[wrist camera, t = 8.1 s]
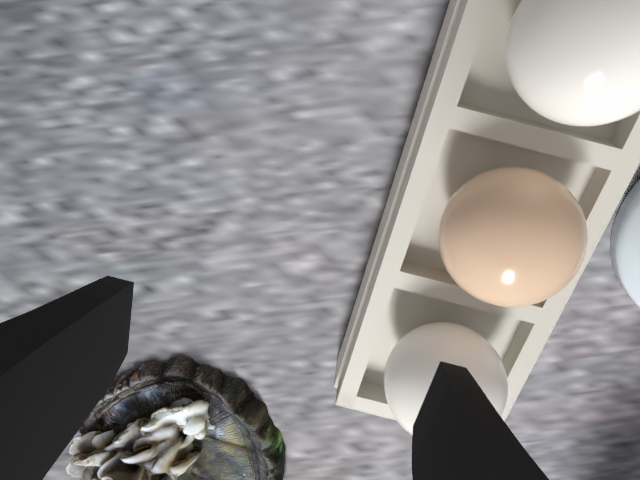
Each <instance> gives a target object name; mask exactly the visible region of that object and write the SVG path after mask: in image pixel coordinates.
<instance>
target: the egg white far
mask: <svg viewBox="0 0 640 480" xmlns="http://www.w3.org/2000/svg"><path fill="white" fill-rule="evenodd" d="M440 361H442V362H446V363H450V364H454V365H458V366H462V367H466V368H467V369H468V371H469V372H470V373H471V375H472V376H473V377H474V379H475V380H476V382H477V383H478V385H479V386H480V388H481V389H482V390H483V392H484V393H485V395H486V396H487V398H488V399H489V401H490V402H491V403H492V405H493V406H494V408H495V409H496V411H497V412H498V414H499V415H500V416H502V414H503V411H504V409H505V406H506V402H507V397H508V380H507V375H506V371H505V367H504V365H503V362H502V360H501V358H500V356H499V354H498V353H497V351H496V350H495V349H494V347H493V346H492V345H491V344H490V343H489V342H488V341H487V340H486V339H485V338H484V337H483V336H482V335H480V334H479V333H477V332H476V331H474V330H472V329H470V328H468V327H466V326H464V325H460V324H457V323H452V322H433V323H428V324H424V325H421V326H418V327H416V328H414V329H412V330H411V331H409V332H408V333H406V334H405V335H404V336H403V337H402V338H401V339H400V340H399V341H398V342H397V343H396V344H395V346H394V347H393V349H392V351H391V352H390V354H389V356H388V359H387V362H386V365H385V369H384V379H383V382H384V392H385V397H386V400H387V403H388V406H389V408H390V410H391V412H392V414H393V415H394V417H395V419H396V420H397V421H398V422H399V424H400V425H401V426H402V427H403V428H404V429H405V430H406V431H407V432H409V433H410V434H411V435H413V425H414V422H415V420H416V418H417V415H418V413H419V410H420V408H421V406H422V403H423V401H424V399H425V396H426V394H427V392H428V389H429V387H430V384H431V382H432V380H433V377H434V375H435V373H436V370H437V368H438V366H439V363H440Z"/></svg>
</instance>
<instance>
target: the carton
mask: <svg viewBox="0 0 640 480" xmlns="http://www.w3.org/2000/svg"><path fill="white" fill-rule="evenodd" d="M521 1H522V0H450V2H449V5H448V8H447V11H446V15H445V18H444V21H443V24H442V27H441V31H440V34H439V37H438V40H437V43H436V46H435V50H434V53H433V56H432V59H431V62H430V66H429V69H428V72H427V75H426V78H425V82H424V85H423V88H422V91H421V94H420V97H419V101H418V104H417V107H416V110H415V113H414V117H413V120H412V123H411V126H410V129H409V133H408V136H407V139H406V142H405V145H404V148H403V152H402V155H401V158H400V161H399V164H398V168H397V171H396V174H395V177H394V180H393V184H392V187H391V190H390V193H389V196H388V199H387V203H386V206H385V209H384V212H383V215H382V219H381V222H380V225H379V228H378V231H377V235H376V238H375V241H374V244H373V247H372V251H371V254H370V257H369V260H368V263H367V266H366V270H365V273H364V276H363V279H362V282H361V286H360V289H359V292H358V295H357V298H356V302H355V305H354V308H353V311H352V314H351V317H350V321H349V324H348V327H347V330H346V333H345V337H344V340H343V343H342V346H341V349H340V353H339V356H338V359H337V363H336V372H335V381H334V388H337V395H336V404H335V405H338V406H342V407H346V408H350V409H354V410H358V411H362V412H366V413H370V414H374V415H378V416H381V417H385V418H389V419H393V420H396V419H395V417H394V415H393V414H392V412H391V410H390V408H389V406H388V403H387V400H386V397H385V392H384V382H383V379H384V369H385V365H386V362H387V359H388V356H389V354H390V352H391V351H392V349H393V347H394V346H395V344H396V343H397V342H398V341H399V340H400V339H401V338H402V337H403V336H404V335H405V334H406V333H408V332H409V331H411V330H412V329H414V328H416V327H418V326H421V325H424V324H428V323H433V322H452V323H457V324H460V325H464V326H466V327H468V328H470V329H472V330H474V331H476V332H477V333H479V334H480V335H482V336H483V337H484V338H485V339H486V340H487V341H488V342H489V343H490V344H491V345H492V346H493V347H494V349H495V350H496V351H497V353H498V354H499V356H500V358H501V360H502V362H503V365H504V367H505V371H506V375H507V380H508V397H507V402H506V406H505V409H504V411H503V414H502V416H501V418H502V419H503V421H505V420H506V418H507V416H508V414H509V412H510V410H511V408H512V406H513V404H514V402H515V400H516V399H517V397H518V395H519V393H520V391H521V389H522V387H523V385H524V383H525V381H526V379H527V378H528V376H529V374H530V372H531V370H532V368H533V366H534V364H535V362H536V360H537V358H538V357H539V355H540V353H541V351H542V349H543V347H544V345H545V343H546V341H547V339H548V337H549V336H550V334H551V332H552V330H553V328H554V326H555V324H556V322H557V320H558V318H559V316H560V315H561V313H562V311H563V309H564V307H565V305H566V303H567V301H568V299H569V297H570V295H571V294H572V292H573V290H574V288H575V286H576V284H577V282H578V280H579V278H580V276H581V274H582V273H583V271H584V269H585V267H586V265H587V263H588V261H589V259H590V257H591V255H592V253H593V252H594V250H595V248H596V246H597V244H598V242H599V240H600V238H601V236H602V234H603V232H604V231H605V229H606V227H607V225H608V223H609V221H610V219H611V217H612V215H613V213H614V212H615V210H616V208H617V206H618V204H619V202H620V200H621V198H622V196H623V194H624V192H625V191H626V189H627V187H628V185H629V183H630V181H631V179H632V177H633V175H634V173H635V171H636V170H637V168H638V166H639V164H640V111H638V112H636V113H635V114H633V115H631V116H628V117H626V118H624V119H621V120H618V121H615V122H612V123H608V124H603V125H598V126H570V125H565V124H561V123H558V122H555V121H552V120H549V119H547V118H545V117H543V116H541V115H540V114H538V113H537V112H535V111H534V110H532V109H531V108H530V107H529V106H528V105H527V104H526V103H525V102H524V101H523V100H522V98H521V97H520V96H519V94H518V93H517V92H516V90H515V88H514V86H513V84H512V82H511V79H510V77H509V74H508V69H507V65H506V40H507V34H508V30H509V26H510V23H511V20H512V18H513V16H514V13H515V11H516V9H517V7H518V6H519V4H520V2H521ZM512 166H515V167H525V168H531V169H534V170H537V171H541V172H543V173H546V174H548V175H550V176H552V177H553V178H555V179H556V180H557V181H559V182H560V183H562V184H563V185H564V186H565V187H566V188H567V189H568V190H569V191H570V192H571V193H572V195H573V196H574V197H575V198H576V200H577V201H578V203H579V205H580V207H581V209H582V211H583V214H584V217H585V220H586V225H587V236H588V242H587V249H586V253H585V256H584V260H583V262H582V264H581V267H580V269H579V270H578V272H577V274H576V275H575V276H574V278H573V279H572V280H571V281H570V282H569V283H568V284H567V285H566V286H565V287H564V288H563V289H562V290H561V291H560V292H558V293H557V294H555V295H554V296H552V297H550V298H548V299H546V300H544V301H542V302H539V303H536V304H532V305H528V306H521V307H502V306H497V305H493V304H490V303H486V302H483V301H481V300H479V299H477V298H475V297H473V296H472V295H470V294H469V293H467V292H466V291H464V290H463V289H462V288H461V287H460V286H459V285H458V284H457V283H456V282H455V281H454V280H453V278H452V277H451V276H450V274H449V273H448V271H447V269H446V267H445V265H444V263H443V261H442V258H441V255H440V251H439V244H438V230H439V223H440V219H441V216H442V213H443V211H444V208H445V206H446V204H447V203H448V201H449V200H450V198H451V197H452V196H453V194H454V193H455V192H456V191H457V190H458V189H459V188H460V187H461V186H462V185H463V184H464V183H465V182H467V181H468V180H469V179H471V178H473V177H475V176H476V175H478V174H481V173H483V172H485V171H488V170H491V169H496V168H501V167H512Z"/></svg>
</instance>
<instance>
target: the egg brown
mask: <svg viewBox="0 0 640 480" xmlns="http://www.w3.org/2000/svg"><path fill="white" fill-rule="evenodd" d="M587 242H588V236H587V225H586V220H585V217H584V214H583V211H582V209H581V207H580V205H579V203H578V201H577V200H576V198H575V197H574V196H573V195H572V193H571V192H570V191H569V190H568V189H567V188H566V187H565V186H564V185H563V184H562V183H560V182H559V181H557V180H556V179H555V178H553V177H552V176H550V175H548V174H546V173H543V172H541V171H537V170H534V169H531V168H525V167H515V166H512V167H501V168H496V169H491V170H488V171H485V172H483V173H481V174H478V175H476V176H475V177H473V178H471V179H469V180H468V181H467V182H465V183H464V184H463V185H462V186H461V187H460V188H459V189H458V190H457V191H456V192H455V193H454V194H453V196H452V197H451V198H450V200H449V201H448V203H447V204H446V206H445V208H444V211H443V213H442V216H441V219H440V223H439V230H438V244H439V251H440V255H441V258H442V261H443V263H444V265H445V267H446V269H447V271H448V273H449V274H450V276H451V277H452V278H453V280H454V281H455V282H456V283H457V284H458V285H459V286H460V287H461V288H462V289H463V290H464V291H466V292H467V293H469V294H470V295H472V296H473V297H475V298H477V299H479V300H481V301H483V302H486V303H490V304H493V305H497V306H502V307H521V306H528V305H532V304H536V303H539V302H542V301H544V300H546V299H548V298H550V297H552V296H554V295H555V294H557V293H558V292H560V291H561V290H562V289H563V288H564V287H565V286H566V285H567V284H568V283H569V282H570V281H571V280H572V279H573V278H574V276H575V275H576V274H577V272H578V270H579V269H580V267H581V264H582V262H583V260H584V256H585V253H586V249H587Z"/></svg>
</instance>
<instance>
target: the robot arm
mask: <svg viewBox="0 0 640 480" xmlns="http://www.w3.org/2000/svg"><path fill="white" fill-rule="evenodd" d="M133 286H134V282H130V281H126V280H122V279H118V278H114V277H110V276H106V277H104V278H101V279H99V280H97V281H95V282H92V283H90V284H88V285H86V286H84V287H82V288H80V289H77V290H75V291H73V292H71V293H69V294H67V295H65V296H63V297H60V298H58V299H56V300H54V301H52V302H49V303H47V304H45V305H43V306H40V307H38V308H36V309H34V310H32V311H29V312H27V313H25V314H22V315H20V316H17V317H15V318H12V319H10V320H7V321H5V322H2V323H0V480H43V478H44V477H45V475H46V474H47V472H48V471H49V469H50V468H51V467H52V465H53V464H54V463H55V461H56V460H57V459H58V457H59V456H60V454H61V453H62V452H63V450H64V449H65V448H66V446H67V445H68V444H69V442H70V441H71V440H72V438H73V437H74V435H75V434H76V433H77V431H78V430H79V429H80V427H81V426H82V425H83V423H84V422H85V420H86V419H87V418H88V416H89V415H90V414H91V412H92V411H93V409H94V408H95V407H96V405H97V404H98V403H99V401H100V400H101V398H102V397H103V395H104V394H105V393H106V391H107V390H108V388H109V386H110V384H111V383H112V381H113V379H114V377H115V375H116V374H117V372H118V370H119V368H120V366H121V364H122V362H123V361H124V359H125V357H126V355H127V352H128V341H129V330H130V319H131V308H132V297H133ZM412 475H413V480H549V479H548V478H547V477H546V475H545V474H544V473H543V472H542V470H541V469H540V468H539V467H538V465H537V464H536V463H535V462H534V461H533V459H532V458H531V457H530V456H529V454H528V453H527V452H526V450H525V449H524V448H523V446H522V445H521V444H520V443H519V441H518V440H517V439H516V437H515V436H514V434H513V433H512V432H511V430H510V429H509V428H508V426H507V425H506V423H505V422H504V421H503V419H502V418H501V416H500V415H499V414H498V412H497V411H496V409H495V408H494V406H493V405H492V403H491V402H490V401H489V399H488V398H487V396H486V395H485V393H484V392H483V390H482V389H481V388H480V386H479V385H478V383H477V382H476V380H475V379H474V377H473V376H472V375H471V373H470V372H469V371H468V369H467V368H466V367H462V366H458V365H454V364H450V363H446V362H442V361H440V363H439V366H438V368H437V370H436V373H435V375H434V377H433V380H432V382H431V384H430V387H429V389H428V392H427V394H426V396H425V399H424V401H423V403H422V406H421V408H420V410H419V413H418V415H417V418H416V420H415V422H414V425H413V437H412Z"/></svg>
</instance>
